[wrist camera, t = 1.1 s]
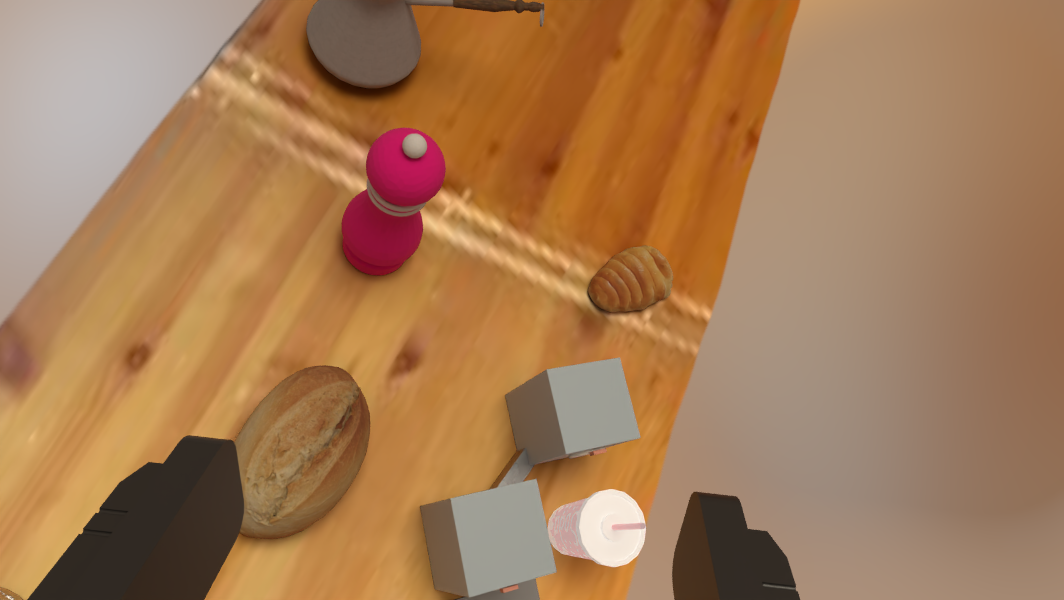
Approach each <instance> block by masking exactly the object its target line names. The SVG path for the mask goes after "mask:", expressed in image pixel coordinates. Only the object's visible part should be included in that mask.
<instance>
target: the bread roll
mask: <svg viewBox="0 0 1064 600" xmlns="http://www.w3.org/2000/svg"><path fill="white" fill-rule="evenodd" d="M369 434H370V413H369V410H368V406H367V403H366V400H365V397H364V395H363V394H362V391H361V389H360V387H358V385H357V384H356V382H355V381H354V379H353V378H352V377H351V375H350V374H349V373H347V372H346V371H345V370H343V369H341V368H339V367H333V366H326V365H325V366H313V367H309V368H305V369H303V370H300V371H298V372H296V373H294V374H292V375H291V376H289V377H287V378H286V379H285V380H283V381H282V382H281V383H280V384H278V385H277V386H276V387H275V388H274V389H273V390H272V391H271V392H270V393H269V394H268V395H267V396H266V397H265V398H264V399H263V400H262V401H261V402H260V404H259V405H258V406H257V407H256V409H255V410H254V411H253V413H252V414H251V415H250V417H249V418H248V420H247V421H246V423H245V424H244V426H243V428H242V430H241V431H240V433H239V435H238V436H237V438H236V440H235V442H234V443H235V446H236V450H237V457H238V463H239V470H240V477H241V484H242V490H243V497H244V516H243V521H242V525H241V529H240V533H241V534H243V535H245V536H248V537H253V538H264V539H275V538H282V537H287V536H290V535H293V534H295V533H298V532H301V531H303V530H304V529H306V528H307V527H308V526H310V525H311V524H313V523H314V522H316V521H317V520H319V519H320V518H322V517H323V516H325V515H326V514H327V513H328V512H329V511H330V510H331V509H332V508H333V507H334V506H335V505H336V504H337V502H338V501H339V500H340V499H341V498H342V496H343V495H344V493H345V492H346V491H347V490H348V488H349V487H350V485H351V484H352V482H353V480H354V478H355V477H356V475H357V473H358V471H359V469H360V467H361V465H362V462H363V460H364V457H365V455H366V452H367V447H368V441H369Z"/></svg>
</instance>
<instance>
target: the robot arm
mask: <svg viewBox="0 0 1064 600" xmlns="http://www.w3.org/2000/svg"><path fill="white" fill-rule="evenodd" d="M243 516H244V497H243V490H242V484H241V477H240V470H239V463H238V457H237V450H236V446H235V443H234V442H233V441H232V440H225V439H216V438H208V437H199V436H190V435H189V436H186V437H184V438H183V439H182V440H181V441H180V442H179V443H178V444H177V446H176V447H175V448H174V450H173V451H172V452H171V454H170V455H169V457H168V458H167V459H166V461H165V462H164V463H163V464H161V463H152V462H148V463H147V464H146V465H144V466H143V467H141V468H140V469H138V470H137V471H136V472H134V473H133V474H131V475H130V476H128V477H127V478H126V479H124V480H123V481H121V482H120V483H119V484H118V485H117V487H116V488H115V489H114V490H113V492H112V493H111V494H110V495H109V497H108V498H107V499H106V501H105V502H104V503H103V504H102V506H101V507H100V511H99V513H95V515H94V516H93V517H92V518H91V520H90V521H89V522H88V523H87V525H86V526H85V527H84V528H83V533H82V534H79V535H78V536H77V537H76V539H75V540H74V541H73V542H72V544H71V545H70V546H69V547H68V549H67V550H66V551H65V553H64V554H63V555H62V556H61V558H60V559H59V560H58V561H57V563H56V564H55V565H54V567H53V568H52V569H51V570H50V572H49V573H48V574H47V575H46V577H45V578H44V579H43V580H42V582H41V583H40V584H39V586H38V587H37V588H36V589H35V591H34V592H33V593H32V594H31V596H30V597H29V598H28V599H27V600H204V599H205V597H206V595H207V593H208V591H209V590H210V588H211V586H212V584H213V582H214V580H215V578H216V576H217V575H218V573H219V571H220V569H221V567H222V565H223V563H224V562H225V560H226V558H227V556H228V554H229V552H230V550H231V548H232V547H233V545H234V543H235V541H236V539H237V537H238V534H239V532H240V529H241V525H242V521H243ZM672 577H673V579H672V580H673V591H674V599H675V600H800V598H799V594H798V592H797V591H796V588H795V587H796V584H795V581H794V578H793V575H792V572H791V569H790V566H789V563H788V559H787V557H786V556H785V554H784V553H783V552H782V550H781V549H780V548H779V546H778V545H777V544H776V542H775V541H774V540H773V539H772V537H771V536H770V535H769V533H768V532H767V531H760V530H751V529H748V528H747V524H746V521H745V518H744V513H743V510H742V506H741V503H740V501H739V499H738V498H737V497H736V496H728V495H718V494H710V493H701V492H693V494H692V495H691V497H690V500H689V504H688V507H687V510H686V514H685V517H684V521H683V524H682V527H681V531H680V535H679V538H678V541H677V545H676V548H675V552H674V559H673V571H672ZM0 600H23V599H22V598H21V597H20V596H18V595H16V594H15V593H13V592H11V591H9V590H7V589H4V588H1V587H0Z"/></svg>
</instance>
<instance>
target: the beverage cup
mask: <svg viewBox="0 0 1064 600" xmlns="http://www.w3.org/2000/svg"><path fill="white" fill-rule="evenodd" d="M547 530H548V534H549V539H550V542H551V543H552V545H553V547H554V548H555V549H556V550H558V551H559V552H560V553H562V554H565V555H570V556H575V557H580V558H585V559H590V560H593V561H595V562H596V563H597V564H601V565H606V566H611V567H617V566H621V565H625V564H628V563H629V562H630V561H631V560H633V559H634V558H635V557H636V556H637V555H638V554H639V552H640V550H641V548H642V546H643V544H644V540H645V532H646V525H645V521H644V516H643V513H642V511H641V509H640V508H639V506H638V504H637V503H636V501H635V500H634V499H632V498H631V497H630V496H628V495H627V494H626V493H625V492H621V491H617V490H613V489H609V490H605V491H600V492H596V493H594V494H593V495H591V496H590V497H589V498H586V499H583V500H579V501H576V502H573V503H569V504H566V505H563V506H561V507H559V508H558V509H556V510H555V511H554V512H553V514H552V516H551V517H550V519H549V523H548V529H547Z"/></svg>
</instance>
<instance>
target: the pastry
mask: <svg viewBox="0 0 1064 600" xmlns="http://www.w3.org/2000/svg"><path fill="white" fill-rule="evenodd" d="M672 280H673V273H672V270H671V267H670V265H669V263H668V261H667V259H666V258H665V257H664V256H663V255H662V254H661V253H660V252H659V251H658V250H657V249H655V248H653V247H650V246H641V247H632V248H628V249H625V250H624V251H623V252H621V253H619V254H617V255H614V256H613V257H612V258H611V259H610V260H609V261H608V262H607V264H606V265H605V266H604V267H603V268H602V269H601V270H599V271H598V272H597V274H596V275H595V276H594V277H593V279H592V281H591V283H590V285H589V288H588V293H589V295H590V297H591V299H592V301H593V302H594V303H595V304H596V305H597V306H598V307H600V308H601V309H603V310H606V311H608V312H618V311H623V312H627V311H634V310H643V309H645V308H647V307H648V306H649V305H650V304H653V303H655V302H656V301H659V300H662V299H664V298H667V297H669V295H670V293H671V288H672Z"/></svg>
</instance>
